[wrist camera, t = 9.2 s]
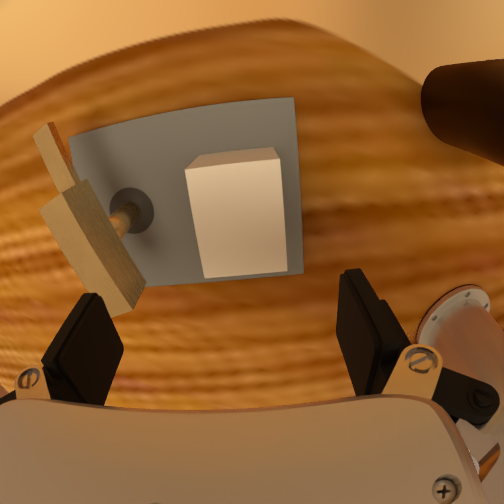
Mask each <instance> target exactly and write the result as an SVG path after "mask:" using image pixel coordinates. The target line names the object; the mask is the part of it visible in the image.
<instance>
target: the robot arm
mask: <svg viewBox="0 0 504 504" xmlns="http://www.w3.org/2000/svg"><path fill="white" fill-rule="evenodd" d="M489 312H490V300H489V297H488V295H487V294H486V292H485V291H484V290H483V289H482V288H480V287H478V286H474V285H468V286H463V287H460V288H457V289H455V290H453V291H451V292H449V293H448V294H447V295H445V296H444V297H442V298H441V299H440V300H439V301H438V302H437V303H436V304H435V305H434V306H433V307H432V308H431V309H430V310H429V312H428V313H427V314H426V316H425V317H424V319H423V321H422V323H421V324H420V327H419V329H418V332H417V338H416V342H417V344H413V345H411V343H410V341H409V339H408V338H407V336H406V334H405V332H404V331H403V329H402V327H401V325H400V324H399V322H398V320H397V318H396V317H395V315H394V313H393V312H392V310H391V308H390V307H389V305H388V303H387V302H386V301H385V300H383V299H382V300H379V298H378V297H377V295H376V293H375V292H374V290H373V288H372V287H371V285H370V283H369V282H368V280H367V278H366V277H365V275H364V273H363V272H362V270H361V269H360V268H358V269H349V270H345V272H344V274H341V275H340V282H339V298H338V312H337V325H336V335H337V339H338V342H339V345H340V348H341V351H342V354H343V357H344V360H345V363H346V366H347V369H348V372H349V375H350V378H351V381H352V384H353V388H354V391H355V394H356V396H355V397H348V398H340V399H333V400H326V401H319V402H311V403H302V404H293V405H284V406H273V407H261V408H247V409H225V410H157V409H138V408H123V407H111V406H104V404H105V401H106V398H107V395H108V392H109V389H110V387H111V384H112V381H113V378H114V376H115V373H116V370H117V368H118V365H119V362H120V360H121V357H122V355H123V351H124V348H123V344H122V342H121V339H120V337H119V335H118V333H117V331H116V328H115V326H114V324H113V322H112V319H111V317H110V315H109V312H108V310H107V308H106V305H105V303H104V300H103V298H102V297H101V296H99V295H98V294H97V293H84V294H83V295H82V296H81V298H80V299H79V301H78V302H77V304H76V305H75V307H74V308H73V310H72V311H71V313H70V314H69V316H68V317H67V319H66V320H65V322H64V323H63V325H62V326H61V328H60V330H59V331H58V333H57V334H56V336H55V338H54V339H53V341H52V343H51V344H50V346H49V347H48V349H47V351H46V353H45V354H44V356H43V358H42V359H41V362H42V363H43V365H44V366H43V368H41V367H40V366H37V365H31V366H28V367H26V368H24V369H23V370H22V371H21V372H20V373H19V374H18V375H17V377H16V379H15V390H14V391H12V392H11V393H9V394H7V395H5V396H4V397H2V398H0V504H504V331H503V329H502V328H501V327H500V326H499V324H498V323H497V322H496V321H495V320H494V318H493V317H492V316H491V315H490V314H489ZM468 449H469V450H470V452H469V450H468ZM471 455H472V456H473V457H474V458H475V459H476V460H477V461H478V464H479V467H480V470H479V474H478V473H477V470H476V468H475V465H474V463H473V460H472V458H471ZM434 482H435V483H434Z"/></svg>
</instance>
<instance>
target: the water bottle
mask: <svg viewBox="0 0 504 504" xmlns="http://www.w3.org/2000/svg"><path fill="white" fill-rule="evenodd" d="M421 105H422V111H423V115H424V118H425V120H426V122H427V124H428V126H429V128H430V129H431V131H432V132H433V133H434V135H435V136H436V137H438V138H439V139H440V140H441V141H443V142H445V143H447V144H450V145H453V146H455V147H458V148H461V149H463V150H466V151H469V152H471V153H474V154H476V155H479V156H481V157H483V158H486V159H488V160H490V161H493V162H495V163H497V164H500V165H502V166H504V59H496V60H486V61H477V62H468V63H460V64H452V65H445V66H440V67H437V68H435V69H434V70H433V71H431V72H430V73H429V75H428V76H427V77H426V79H425V81H424V84H423V87H422V92H421Z"/></svg>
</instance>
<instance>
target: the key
mask: <svg viewBox="0 0 504 504" xmlns="http://www.w3.org/2000/svg"><path fill="white" fill-rule="evenodd" d="M33 138H34V140H35V142H36V145H37V147H38V149H39V151H40V154H41V156H42V158H43V160H44V162H45V165H46V167H47V169H48V171H49V173H50V175H51V177H52V179H53V181H54V183H55V185H56V187H57V189H58V191H59V193H60V194H59V195H58V196H56V197H55V198H53V199H52V200H51V201H49V202H48V203H47V204H45V205H44V206H42V207H41V208H40V209H39V211H40V213H41V215H42V217H43V219H44V220H45V222H46V224H47V226H48V228H49V229H50V231H51V233H52V235H53V236H54V238H55V240H56V242H57V243H58V245H59V247H60V248H61V250H62V252H63V253H64V255H65V257H66V258H67V260H68V261H69V263H70V265H71V266H72V268H73V269H74V271H75V272H76V274H77V275H78V277H79V278H80V280H81V281H82V283H83V284H84V286H85V287H86V289H87V290H88V292H89V293H97V294H98V295H99V296H101V297H102V298H103V300H104V303H105V305H106V308H107V310H108V312H109V315H110V317H114V316H117V315H120V314H123V313H126V312H129V311H132V310H133V309H134V307H135V305H136V303H137V301H138V299H139V297H140V295H141V293H142V291H143V289H144V287H145V285H146V283H147V282H146V280H145V279H144V277H143V276H142V274H141V273H140V271H139V269H138V268H137V266H136V264H135V263H134V261H133V260H132V258H131V256H130V255H129V253H128V251H127V250H126V248H125V246H124V245H123V243H122V241H121V239H122V238H123V236H124V235H125V234H126V233H127V232H128V231H129V229H130V228H131V227H132V226H133V225H134V224H135V223H136V221H137V220H138V219H139V217H140V209H139V207H138V205H137V204H135V203H134V202H125V203H124V204H122V205H121V206H120V207H119V208H118V209H117V210H116V211H115V212H113V213H112V214H111V215H110V216H109V217H107V215H106V213H105V211H104V209H103V207H102V206H101V204H100V202H99V200H98V198H97V196H96V194H95V192H94V191H93V189H92V187H91V185H90V183H89V181H88V179H85V180H83V181H81V180H80V178H79V176H78V174H77V172H76V170H75V168H74V166H73V164H72V162H71V160H70V158H69V156H68V154H67V152H66V150H65V147H64V145H63V143H62V141H61V139H60V136H59V134H58V132H57V130H56V127H55V125H54V123H53V122H50V123H47V124H45V125H44V126H43V127H42V128H41V129H39V130H38V131H37V132H36V133H35V134H34V135H33Z"/></svg>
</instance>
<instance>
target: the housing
mask: <svg viewBox="0 0 504 504" xmlns="http://www.w3.org/2000/svg"><path fill="white" fill-rule="evenodd" d="M68 139H69V145H70V150H71V155H72V160H73V165H74V168H75V170H76V172H77V174H78V176H79V178H80V180H81V181H83V180H85V179H88V181H89V183H90V185H91V187H92V189H93V191H94V192H95V194H96V196H97V198H98V200H99V202H100V204H101V206H102V207H103V209H104V211H105V213H106V215H107V217H109V216H110V215H111V214H112V213H113V212H115V211H116V210H117V209H118V208H119V207H120V206H121V205H122V204H124V203H125V202H134V203H135V204H137V205H138V207H139V209H140V217H139V219H138V220H137V221H136V223H135V224H134V225H133V226H132V227H131V228H130V229H129V231H128V232H127V233H126V234H125V235H124V236H123V238H122V239H121V241H122V243H123V245H124V246H125V248H126V250H127V251H128V253H129V255H130V256H131V258H132V260H133V261H134V263H135V264H136V266H137V268H138V269H139V271H140V273H141V274H142V276H143V277H144V279H145V280H146V282H147V283H146V285H145V287H150V286H165V285H178V284H192V283H204V282H217V281H229V280H240V279H252V278H263V277H274V276H284V275H294V274H304V264H303V233H302V209H301V189H300V172H299V157H298V143H297V130H296V118H295V106H294V97H288V98H272V99H260V100H249V101H239V102H231V103H222V104H215V105H208V106H201V107H195V108H189V109H183V110H177V111H172V112H167V113H162V114H157V115H152V116H147V117H143V118H138V119H134V120H130V121H126V122H122V123H118V124H114V125H110V126H106V127H103V128H99V129H96V130H92V131H89V132H85V133H82V134H79V135H76V136H72V137H69V138H68ZM265 147H273V148H274V149H275V151H276V153H277V155H278V156H279V158H280V166H281V178H282V191H283V205H284V220H285V236H286V252H287V271H283V272H273V273H262V274H251V275H240V276H228V277H216V278H204V273H203V268H202V263H201V258H200V253H199V248H198V242H197V237H196V232H195V226H194V221H193V215H192V210H191V204H190V198H189V193H188V187H187V181H186V175H185V169H186V168H187V167H188V166H189V165H190V164H191V163H192V162H193V161H194V160H195V159H196V158H197V157H198V156H199V155H203V154H211V153H219V152H227V151H235V150H245V149H255V148H265Z"/></svg>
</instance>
